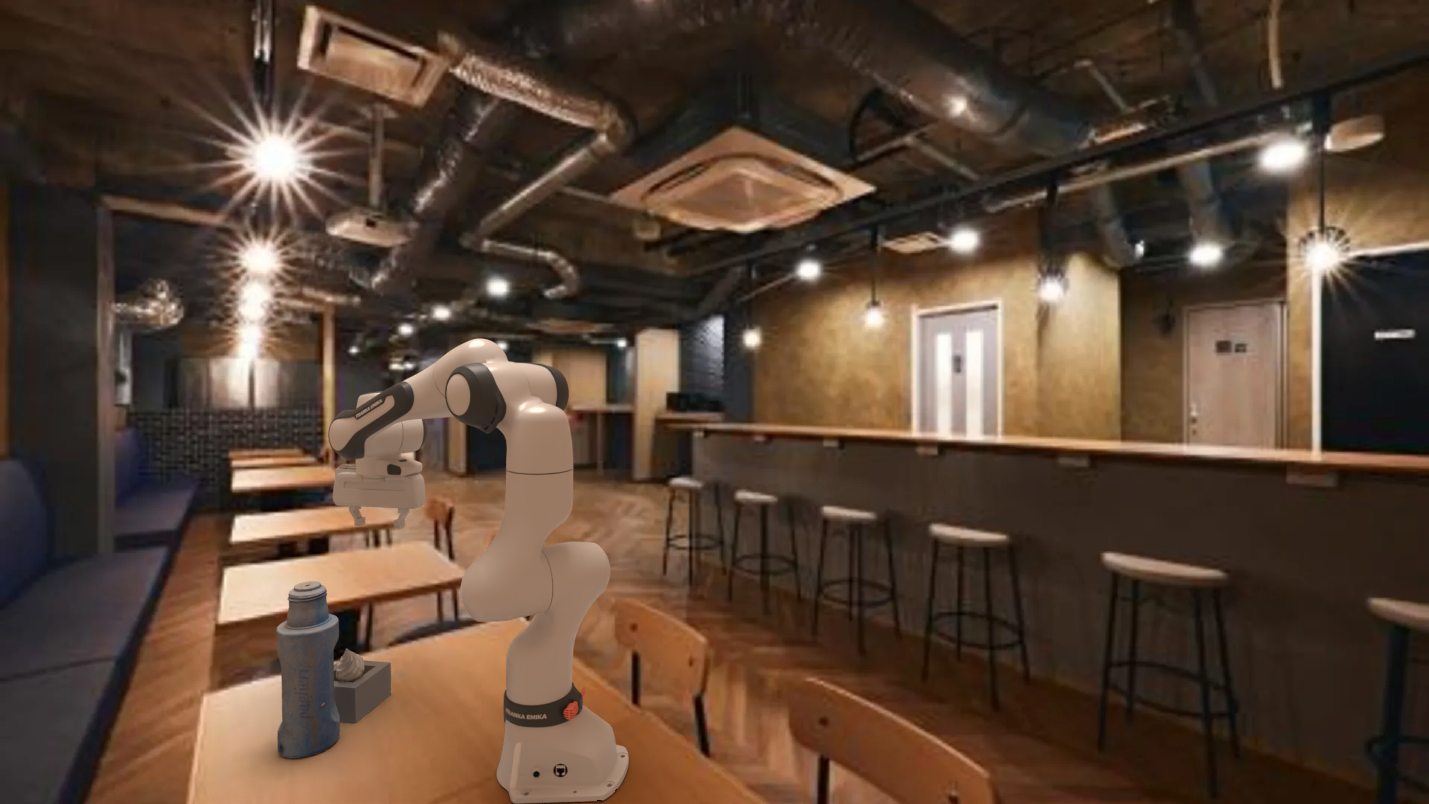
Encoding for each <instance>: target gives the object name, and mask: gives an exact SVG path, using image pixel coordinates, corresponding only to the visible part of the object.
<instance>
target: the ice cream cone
mask: <svg viewBox="0 0 1429 804" xmlns="http://www.w3.org/2000/svg"><path fill="white" fill-rule="evenodd" d="M340 660H341V661H340ZM340 660H339V661H340V662H339V661H338V663H337V662H336V663H337V666H339V667H338V668H337V669H336V671H337V672H336V677H337V679H338V680H340V681H342V682H354V681H356V680H357V679H358V678H360V677H361V676H362V674H363V671H364V658H363V657H362V656H361V654H358V653H356V652H353V651H351V650H350V649H348V648H347V647H345V650H344V653H343V654H342V656H341V657H340Z"/></svg>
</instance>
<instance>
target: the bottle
mask: <svg viewBox="0 0 1429 804" xmlns="http://www.w3.org/2000/svg"><path fill="white" fill-rule="evenodd" d="M327 592H328V591H327V587H326V586H325V585H322V583H321V582H320V581H313V580H312V581H305V582H300V583H297V584H295V585H294V586H293V588H292V589H291V590H289V591H288V596H287V600H288V610H287V616H286V620H285V621H283V622H282V623H280V624H278V626H277V627H276V631H275V632H276V652H277V656H278V659H279V660H278V661H279V665H280V670H281V671H280V673H281V674H280V675H281V678H280V679H281V719H282V720H281V723H280V725H279V727H278V729H277V740H276V741H277V752H278V753H279V754H280V756H282V757H284V758H288V759H300V758H307V757H312V756H314V755H318V754H320V753H322V752H325V751H326V750H328V749H329V748H331V747H332V746H333V745H335V744H336V742H337V741H338V740H339V738H340V731H341V730H340V728H341V727H340V725H341V722H340V717H339V713H338V710H337V707H336V704H335V700H334V664H335V663H334V660H335V659H334V657H335V656H334V655H335V654H334V652H335V651H334V649H335V647H336V646H337V642H338V641H339V638H340V636H339V635H340V628H339V626H340V624H339V623H340V620H339V618H338V617H337V616H336V615H334V614H331V613H329V608H328V607H329V606H328V602H327V596H328V593H327Z"/></svg>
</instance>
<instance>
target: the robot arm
mask: <svg viewBox="0 0 1429 804" xmlns="http://www.w3.org/2000/svg"><path fill="white" fill-rule="evenodd" d="M569 397H570V389H569V384H568V381H567V378H566V377H565V374H563V372H562V371H560V369H557V368H555V367H553V366H550V365H547V364H544V363H537V362H535V363H534V362H528V361H525V362H515V361H514V362H513V361H509V360H508V357H507V355H506V353H505V351H504V350H503V348H502V347H501V346H500V345H498V344H497V343H496V342H494V341H492V340H489V339H486V338H474V339H470V340H468V341H466V342H463V343H462V344H459V345H457V346H455V347H454V348H453V349H451V350H450V351H447V352H446V354H444V355H443V356H441V358H439V359H438V360H437V361H435V362H434V363H432V364H430V366H428V367H427V368H425V369H423V370H421V371H420V372H418V373H416V374H415V375H412V376H410V377H407V378H406V379H404V380H403V381H400V382H398V383H396V384H394V385H392V386H390V387H388V388H386V389H384V390H382V391H381V390H380V391H370V392H365V393H363V394H361V395H359V396H358V399H357V403H356V408H355V409H344V410H341V411H340V412H339V413H338V414H337V415H336V416H335V417H334V419H333V420H332V421H331V422H330V424H329V427H328V435H327V437H328V442H329V445H330V448H331V449H332V450H333V451H334V452H335V453H337V455H338V456H340V457H342V458H343V459H345V460H346V461H354V460H355V463H341V464H340V465H338V466H337V467H336V468H335V470H334V483H333V491H332V502H333V503H334V504H335V506H339V507H341V506H342V507H348V511H349V513H350V514H351V517H352V518H353V522H354V523H353V524H354V525H353V526H354V527H363V526H366V516H363V515H362V512H360V510H361V509H362V508H363V507H364V508H384V509H386V508H387V509H397V513H398V517H397V519H394V520H393V528H394V529H403V528H404V527H405V519H406V518H407V516H408V514H410V510H414V509H418V508H421V507H423V505H425V503H426V485H425V479H424V476H423V475H422V474H421V472H422V471H423V463H422V462H420V461H417V460H415V459H413V458H412V459H411V458H410V457H407V456H405V455H403V454H406V453H407V454H408V453H412V452H416V451H419V450H420V449H421V448H422V447H423V446H424V445H425V444H426V442H427V439H428V436H429V424H428V421H427V419H440V418H441V419H442V418H443V419H444V418H452V417H454V418H455V419H456V420H457V421H458V422H460V423H462V424H463V425H466V426H467V425H468V426H471V427H474V428H476V429H479V430H480V431H481V432H483V433H485V434H490V433H492V432H493V431H495V429H498V430H499V431H500V432H501V433H502V434H503V436H504V438H505V440H506V441H505V443H506V458H505V459H506V461H505V463H506V464H505V465H506V467H505V473H506V474H505V493H504V494H505V495H504V509H503V514H502V520H501V522H500V524H499V528H498V529H497V532H496V534H495V536H494V537H493V539H492V541H491V543H490V544H489V545H488V546H487V548H486V549H485V550H484V552H483V553H482V554H481V555H480V556H479V557H478V558H476V559H475V560H474V561H473V562H472V563H471V564H470V565H469V566H468V567H467V569H466V571H465V572H464V574H463V576H462V579H461V583H460V594H459V595H460V599H461V604H462V606H463V608H464V609H465V611H466V613H467V614H468V615H469V616H470V617H471V618H472V619H473V620H475V621H476V622H479V623H483V622H484V623H485V622H487V623H491V622H493V623H495V622H496V623H497V622H508V621H513V620H516V619H520V618H526V617H528V616H529V617H530V616H533V615H534V617H533V618H532V619H531V621H530V622H529V623H528V625H527V626H526V627H524V628H523V629H522V630H521V631H520V632H519V633H518V634H516V635H515V637H514V638H513V639H512V640H511V641H510V644H508V645H509V646H508V648H507V651H506V655H505V660H506V662H505V665H506V666H505V673H506V674H505V675H506V676H505V677H506V681H505V682H506V683H505V684H506V685H505V690H504V693H503V704H502V705H503V707H502V709H503V710H502V711H503V722H504V724H505V725H504V736H503V744H502V748H501V749H502V750H501V755H500V759H499V763H498V766H497V770H496V779H497V781H498V783H499V784H500V786H502V788H504V789H505V790H506V791H507V792H508V795H509V799H510V801H511V803H513V804H542V803H543V804H544V803H546V804H549V803H576V802H577V803H578V802H582V803H583V802H598V801H597V800H602V801H605V800H606V799H608V798H609V797H611V796H612V795H613V794H614V793H615V792H616V791H617V790H618V789H619V788H620V786H621V785H622V783H623V781H624V780H625V777H626V775H627V772H628V771H629V770H628V769H629V763H630V760H629V752H628V750H627V748H626V747H625V746H623V745H619V744H617V743H616V737H615V733H614V730H613V727H612V725H611V724H610V723H608V722H607V721H606V720H604V719H603V718H601V717H600V716H599V715H597V714H596V713H594V712H593V711H592V710H590V708H588V707H587V706H586V705H584V704H583V703H584V702H583V699H584V697H585V695H586V687H585V686H583V687H582V689H581V690H579V689H577V687H576V686H575V684H574V682H573V659H574V647H575V642H576V638H577V634H578V631H579V628H580V626H581V624H582V622H583V619H584V617H585V615H586V614H587V612H588V610H589V609H590V607H591V606H592V605H593V603H594V602H595V601H596V600H597V599H598V598H599V597H600V596H601V595H602V594H603V593H604V592H605V591H606V589H607V587H608V585H609V582H610V578H611V577H610V576H611V563H610V560H609V557H608V555H607V553H606V552H605V550H604V549H603V548H602V547H601V546H600V545H599V544H598V543H596V542H593V541H591V542H589V541H566V542H565V541H564V542H559V543H554V544H549V545H548V544H547V545H544V544H545V542H546V540H547V538H548V537H549V536H550V534H551V533H552V532H554V530H556V529H557V528H558V527H559V526H561V525H562V524H564V523H565V522H566V521H567V520H568V518H569V517H570V515H571V514H572V511H573V506H574V452H573V450H574V449H573V441H572V440H573V439H572V432H571V427H570V422H569V418H568V415H567V414H566V412H565V410H566V408H567V406H568V403H569ZM616 789H617V790H616ZM615 790H616V791H615Z"/></svg>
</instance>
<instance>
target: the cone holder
mask: <svg viewBox="0 0 1429 804" xmlns="http://www.w3.org/2000/svg"><path fill="white" fill-rule="evenodd" d="M363 660H364V659H363ZM340 661H341V660H339V661H338V662H340ZM338 662H336V663H334V700H335V704H336V707H337V710H338V713H339V717H340V723H350V724H351V723H352V724H357V723H358V722H359V721H360V720H362V719H363V718H364V717H366V715H368V714H369V713H370V712H371V711H373V710H374V709H375V708H377V707H378V706H379V705H380V704H381V703H383V702H384V701H385V700H386V699H388V698H389V697H390V696H391V695H392V677H391V676H392V671H391V669H392V665H391V664H392V663H391V662H389V661H377V660H364V671H363V674H362V676H361V677H360V678H358V679H357V680H356V681H354V682H342V681H340V680H338V679H337V677H336V672H337V671H336V669H337V668H338V667H339V666H337V663H338Z"/></svg>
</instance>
